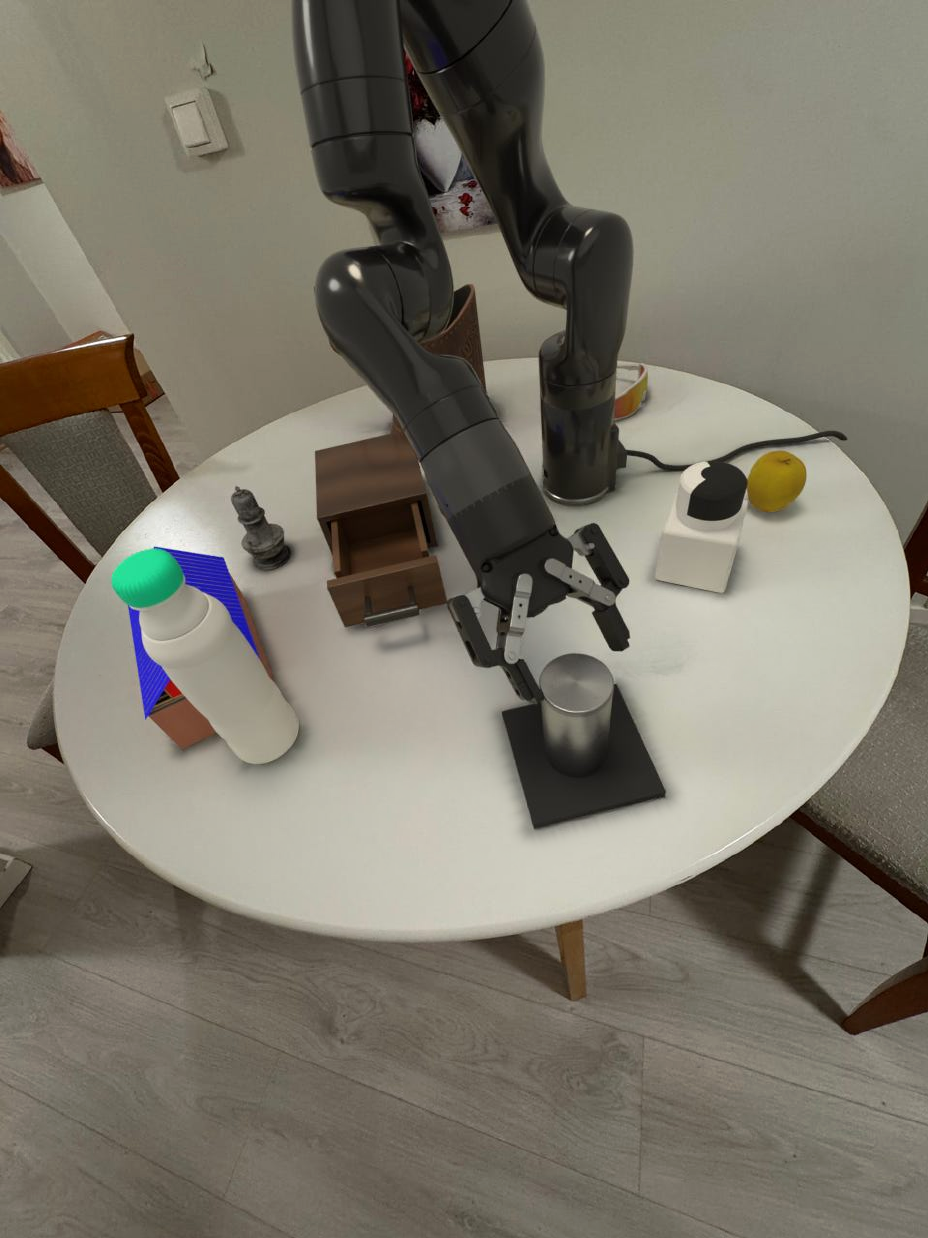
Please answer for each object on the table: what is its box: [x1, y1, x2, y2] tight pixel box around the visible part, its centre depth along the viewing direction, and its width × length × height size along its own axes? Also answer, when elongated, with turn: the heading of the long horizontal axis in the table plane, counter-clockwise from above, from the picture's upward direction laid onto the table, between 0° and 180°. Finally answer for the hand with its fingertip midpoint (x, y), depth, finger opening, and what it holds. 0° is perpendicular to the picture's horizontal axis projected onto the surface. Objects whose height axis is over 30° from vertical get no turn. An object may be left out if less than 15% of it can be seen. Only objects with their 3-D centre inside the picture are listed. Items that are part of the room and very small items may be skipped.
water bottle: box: [110, 548, 300, 765], centre depth 52 cm, size 7×7×25 cm
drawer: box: [326, 501, 448, 628], centre depth 70 cm, size 19×13×7 cm
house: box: [127, 546, 277, 750], centre depth 65 cm, size 12×20×12 cm, turn 28°
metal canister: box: [538, 652, 615, 777], centre depth 51 cm, size 6×6×11 cm
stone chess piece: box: [230, 485, 292, 571], centre depth 77 cm, size 6×6×12 cm
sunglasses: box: [614, 362, 649, 421], centre depth 96 cm, size 14×15×5 cm
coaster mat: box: [501, 683, 667, 830], centre depth 55 cm, size 12×12×1 cm
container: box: [654, 460, 749, 594], centre depth 65 cm, size 8×8×13 cm
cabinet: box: [314, 431, 439, 557], centre depth 80 cm, size 16×14×9 cm
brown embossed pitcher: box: [313, 283, 488, 434], centre depth 90 cm, size 18×24×25 cm
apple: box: [746, 449, 808, 513], centre depth 71 cm, size 6×6×8 cm
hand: (580, 674), depth 47 cm, fingers open, 8 cm apart
